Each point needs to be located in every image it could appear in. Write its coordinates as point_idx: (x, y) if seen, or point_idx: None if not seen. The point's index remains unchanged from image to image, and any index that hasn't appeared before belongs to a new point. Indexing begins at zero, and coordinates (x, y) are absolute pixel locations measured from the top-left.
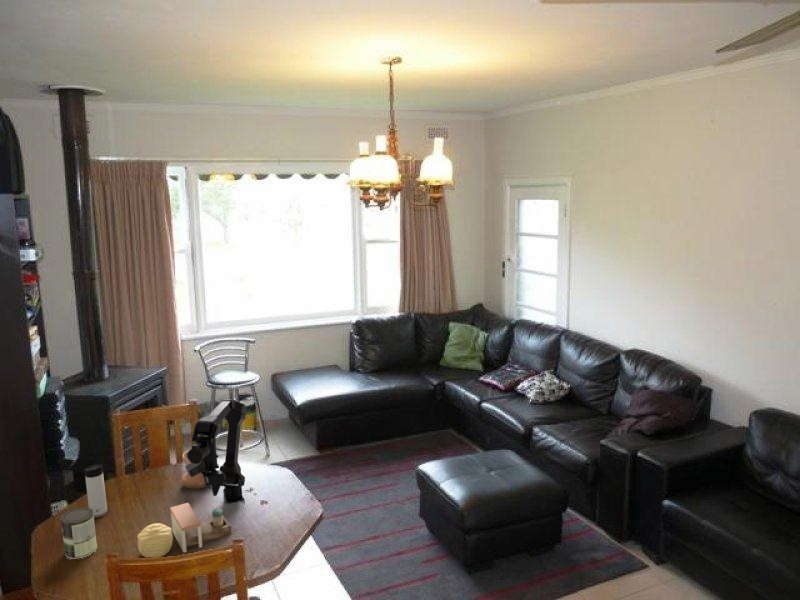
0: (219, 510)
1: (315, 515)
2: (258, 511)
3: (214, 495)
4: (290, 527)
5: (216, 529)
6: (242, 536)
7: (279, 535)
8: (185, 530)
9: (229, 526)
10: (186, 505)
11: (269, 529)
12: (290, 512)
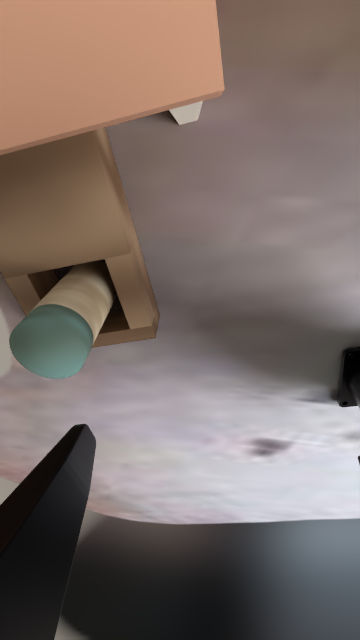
0: (57, 364)
1: (118, 517)
2: (207, 426)
3: (71, 435)
4: None
5: (16, 288)
6: None
7: (24, 448)
8: None
9: None
10: (138, 53)
11: None
12: (158, 485)
